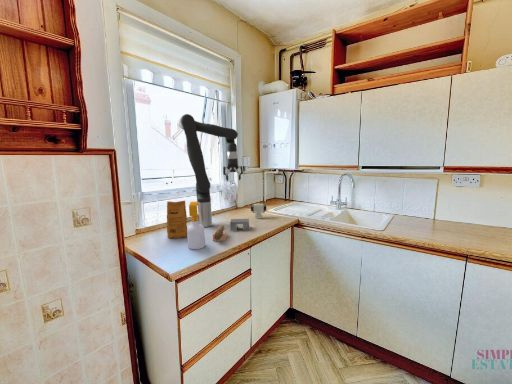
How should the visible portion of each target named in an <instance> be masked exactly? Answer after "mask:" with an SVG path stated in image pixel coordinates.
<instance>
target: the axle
mask: <svg viewBox="0 0 512 384" xmlns="http://www.w3.org/2000/svg"><path fill="white" fill-rule="evenodd" d="M216 230H217V232H216V234H215V236H214V238H215V239H216V240H219V239H220V238H221V235H222V233H223V232H224V230H225V226H224V225H223V224H220V225H219V226H218V227H217V229H216Z"/></svg>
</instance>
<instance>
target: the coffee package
mask: <svg viewBox="0 0 512 384" xmlns="http://www.w3.org/2000/svg"><path fill="white" fill-rule="evenodd" d="M187 217H188V215H187V207H186V200H179V201H170V200H169V201H167V202H166V234H167V238H168V239H173V238H175V239H181V238H186V237H187V228H188V224H187V223H188V221H187V220H188V219H187Z"/></svg>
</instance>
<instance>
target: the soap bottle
mask: <svg viewBox="0 0 512 384" xmlns="http://www.w3.org/2000/svg"><path fill="white" fill-rule="evenodd" d="M188 210H189V211H188V213H189V214H188V215H189V217H192V219H191V224H190V225H189V226H187V236H186V237H187V247H188V249H189V250H190V249H191V250H199V249H203V248H205V246H206V236H205V235H206V233H205V227H203V226H202V225H200V224H199V223H198V218H197V216H198V215H199V214H197V213H198V202H197V201H190V203H189V204H188Z"/></svg>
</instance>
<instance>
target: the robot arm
mask: <svg viewBox="0 0 512 384" xmlns="http://www.w3.org/2000/svg"><path fill="white" fill-rule="evenodd" d="M178 125H179V127H180V128H181V129H182V130H183V131H184V135H185V139H186V153H187V156H188V159H189V162H190V165H191V167H192V170H193V173H194V176H195V180H196V182H195V192H196V194H195V195H196V202H198V205H197V214H199V215H198V216H197V219H198V223H199V224H200V225H202V226H203V227H204V228H208V227H211V226H213V218H212V217H213V215H212V198H211V192H210V191H211V183H210V179H209V177H208V174H207V172H206V166H205V159H204V154H203V151H202V147H201V143H200V141H199V138H198V132H199V133H204V134H208V135H210V136H213V137H214V136H215V137H219V138H225V143H226V149H227V150H226V159H227V166H223V168H222V170H223V171H222V172H223V173H222V175H224V176H225V179H226V181H227V182H228V181H229V174H230V173H237V174H238V181H241V179H242V177H241V176H242V175H243V174H244V170H243V169H244V168H243V165H239V160H238V159H239V158H238V156H239V155H238V146H237V143H236V142H235V140H236V139H237V138H238V137H239V135H238V134H239V133H238V131H237V130H236V129H233V128H229V127H223V126H220V125H217V124H212V123H204V122H200V121H197V120H195V118H194V117H193V116H192V115H191V114H189V113H185V114H183V115H182V116H181V117H180V118H179V119H178ZM226 170H227V172H226ZM239 170H240V171H239Z"/></svg>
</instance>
